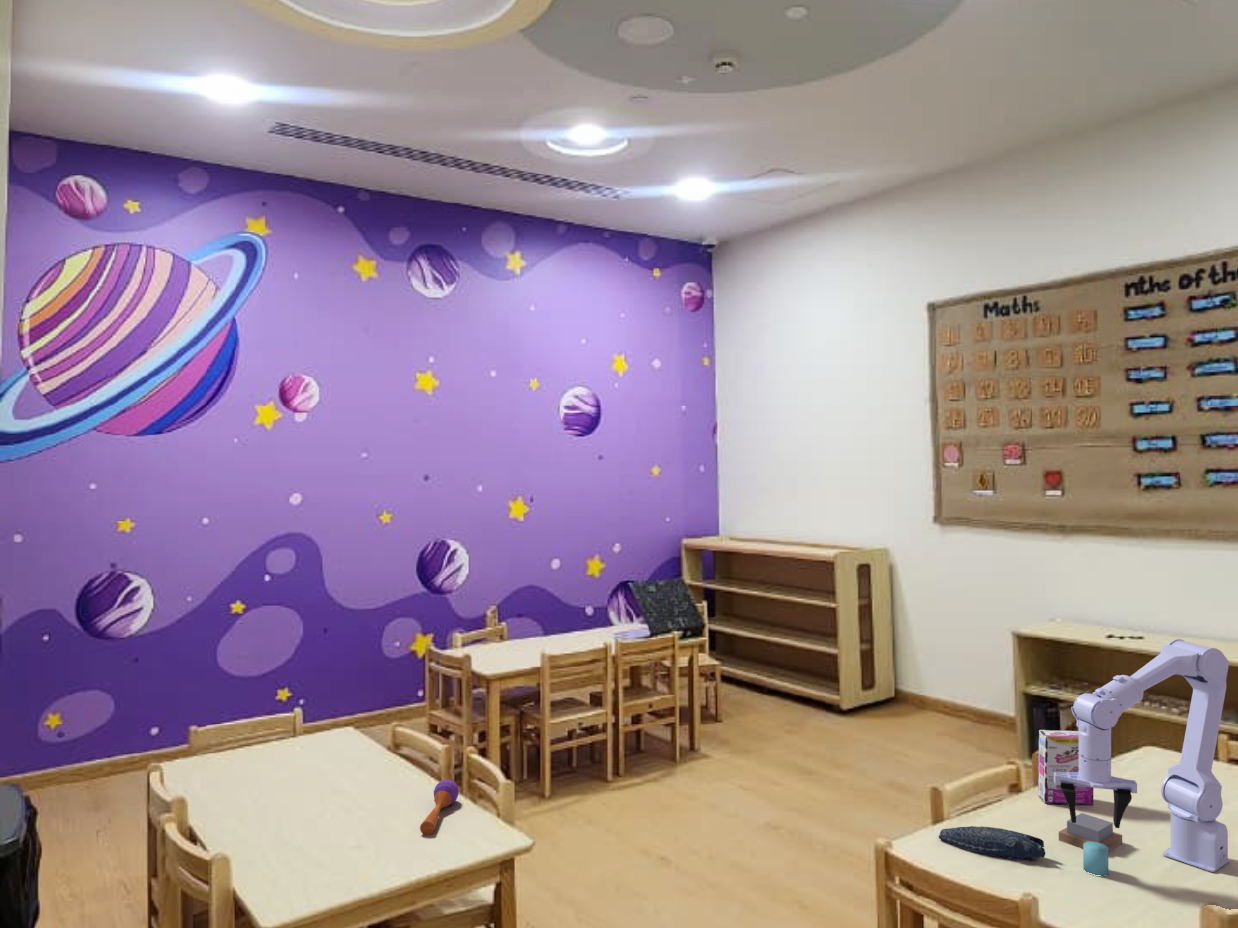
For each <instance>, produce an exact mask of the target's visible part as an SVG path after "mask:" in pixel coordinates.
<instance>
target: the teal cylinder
mask: <svg viewBox="0 0 1238 928" xmlns="http://www.w3.org/2000/svg"><path fill="white" fill-rule="evenodd" d="M1082 851H1083V854H1082V855H1083V861H1082V862H1083V871H1084V870H1085V871H1086V872H1089V873H1092V874H1095V875H1101V876H1103V877H1105V876H1104V875H1107V876H1108V875H1109V852H1108V847H1107V846H1106V845H1104V844H1101V843H1098V842H1085V843H1084V844H1083V849H1082ZM1085 871H1084V872H1085ZM1086 872H1085V873H1086Z"/></svg>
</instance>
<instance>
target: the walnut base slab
mask: <svg viewBox="0 0 1238 928" xmlns="http://www.w3.org/2000/svg"><path fill="white" fill-rule="evenodd" d="M1058 841H1059V842H1062V843H1065V844H1067V845H1070V846H1073V847H1076V848H1079V849H1081V850H1083V844H1084V843H1085V842H1094V841H1091V840H1088V839H1085V838H1082V837H1079V836H1076V835H1073V834H1070V833H1067V827H1066V828H1063V829H1062V830H1060V831H1058ZM1099 843H1101V844H1104V845H1106V846H1107V847H1108V853H1109V852H1111V851H1113V850H1114V849H1115V848H1117V847H1119V846H1121V845H1123V835H1122V833H1118V832H1115V831H1113V835H1111V836H1109V837H1108V838H1106V839H1104V840H1103V841H1101V842H1099Z"/></svg>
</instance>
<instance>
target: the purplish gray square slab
mask: <svg viewBox="0 0 1238 928" xmlns="http://www.w3.org/2000/svg"><path fill="white" fill-rule="evenodd" d="M1066 828H1067V833H1070V834H1073V835H1076V836H1079V837H1082V838H1085V839H1088V840H1091V841H1094V842H1098V843H1099V842H1101V841H1103V840H1104V839H1106V838H1108V837H1109V836H1111V835H1113V832H1114V822H1112V821H1108V820H1105V819H1102V818H1098V817H1095V816H1092V815H1089V814H1086V813H1083V812H1081V813H1079V814H1076V823H1072V821H1071V818H1070V819H1068V820H1067V821H1066Z"/></svg>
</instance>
